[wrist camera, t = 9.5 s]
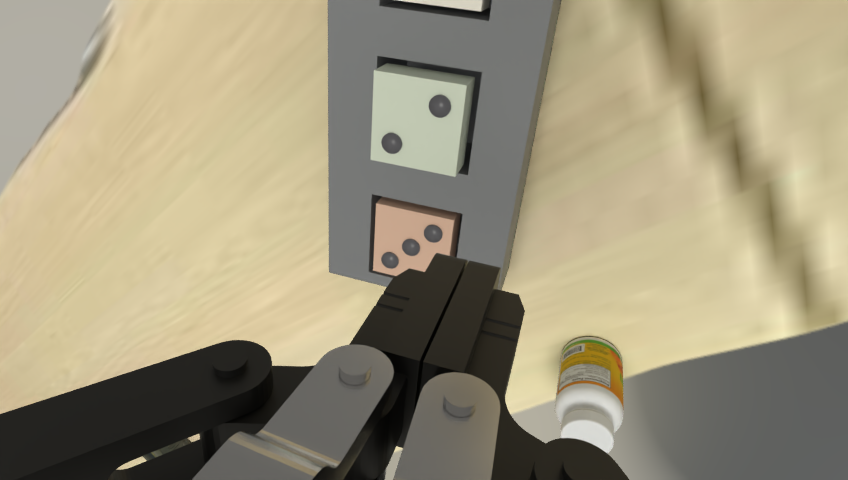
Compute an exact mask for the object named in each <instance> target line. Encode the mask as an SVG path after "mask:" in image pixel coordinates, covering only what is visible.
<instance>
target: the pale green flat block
mask: <svg viewBox="0 0 848 480" xmlns="http://www.w3.org/2000/svg"><path fill="white" fill-rule="evenodd" d="M474 83H475V77H472V76H466V75H459V74H453V73H447V72H441V71H434V70H428V69H422V68H416V67H409V66H403V65H397V64H391V63H386V64H384V65H383V66H381V67H379V68H377V69H375V70H374V80H373V107H372V133H371V160H374V161H379V162H384V163H389V164H394V165H399V166H404V167H409V168H414V169H419V170H424V171H429V172H434V173H439V174H444V175H449V176H454V177H456V175H457V174H458V172H459V171H460V169H461V168H462V166H463V165H464V159H465V151H466V144H467V136H468V129H469V121H470V113H471V106H472V98H473V91H474Z"/></svg>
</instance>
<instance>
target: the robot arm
mask: <svg viewBox="0 0 848 480" xmlns="http://www.w3.org/2000/svg"><path fill="white" fill-rule="evenodd" d="M500 272H501V268H500V267H496V266H492V265H487V264H483V263H479V262H475V261H469V262H468V260H466V259H461V258H457V257H453V256H448V255H444V254H440V253H436V254H435V255H434V257H433V259H432V260H431V262H430V264H429V266H428V267H427V269H426V271H425V272H423V271H419V270H414V269H410V268H409V269H407V270H406V271H404V272H402V273H401V274H399V275H397V276H395V277H394V278H393V279H392V280H391V282H390V283H389V285H388V286H387V288H386V289H385V291H384V294H382V296H381V297H380V299H379V300H378V302H377V304H376V306H374V308H373V309H372V311H371V312H370V314H369V315H368V317H367V318H366V320H365V322H364V323H363V325H362V326H361V328H360V329H359V331H358V332H357V334H356V335H355V337H354V338H353V340H352V341H351V343H350V345H345V346H341V347H338V348H335V349H333V350H331V351H329V352H328V353H327V354H325V355H324V356H323V357H322V358H321V359H320V360H319V362H318V363H317V364H316V365H315V366H304V367H297V366H272V361H271V356H270V354H269V353H268V351H267V350H266V349H265V348H264V347H262V346H261V345H259V344H257V343H254V342H250V341H244V340H232V341H226V342H222V343H218V344H215V345H212V346H209V347H206V348H203V349H200V350H197V351H194V352H190V353H187V354H184V355H181V356H178V357H175V358H172V359H169V360H166V361H163V362H160V363H157V364H153V365H150V366H147V367H144V368H141V369H138V370H135V371H132V372H129V373H126V374H123V375H120V376H117V377H113V378H110V379H107V380H104V381H101V382H98V383H95V384H92V385H89V386H86V387H83V388H80V389H76V390H73V391H70V392H67V393H64V394H61V395H58V396H55V397H52V398H49V399H46V400H43V401H39V402H36V403H33V404H30V405H27V406H24V407H21V408H18V409H15V410H12V411H9V412H6V413H2V414H0V480H384V479H385V475H386V467H387V466H388V464H389V461H390V459H391V457H392V454H393V452H394V450H395V447H396V446H398V447H401V448H403V450H402V453H401V457H400V460H399V463H398V466H397V469H396V472H395V476H394V479H393V480H629V479H628V477H627V476H626V475H625V473H624V472H623V471H622V469H621V468H620V467H619V466H618V464H617V463H616V462H615V461H614V460H613V459H612V458H611V457H610V456H609V455H608V454H607V453H606V452H605V451H603V450H602V449H600V448H599V447H597V446H595V445H593V444H591V443H589V442H586V441H583V440H579V439H574V438H560V439H555V440H552V441H550V442H548V443H546V444H545V443H544V442H542V441H540V440H539V439H537V438H535V437H534V436H532V435H531V434H529V433H528V432H526V431H525V430H523V429H522V428H521V427H520V426H519V425H518V424H517V423H516V422H515V421H514V419H513V418H512V416H511V415H510V413H509V411H508V409H507V406H506V403H505V394H506V390H507V386H508V382H509V377H510V373H511V369H512V365H513V361H514V356H515V352H516V347H517V343H518V338H519V334H520V330H521V325H522V321H523V316H524V312H525V310H524V307H523V305H522V302H521V300H520V297H519V295H518V294H514V293H509V292H505V291H501V290H497V289H498V284H499V278H500ZM198 433H199V434H200V440H197V441H195V442H192V443H190V444H187V445H185V446H182V447H180V448H178V449H175V450H173V451H170V452H168V453H165V454H163V455H160V456H158V457H156V458H153V459H151V460H148V461H146V462H143V463H141V464H138V465H136V466H134V467H131V468H128V469H123V470H116V469H117V468H118V467H120V466H121V465H123V464H125V463H127V462H129V461H131V460H134V459H136V458H139V457H141V456H144V455H146V454H149V453H151V452H154V451H156V450H159V449H161V448H164V447H166V446H169V445H171V444H174V443H176V442H179V441H181V440H183V439H186V438H188V437H191V436H193V435H196V434H198Z"/></svg>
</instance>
